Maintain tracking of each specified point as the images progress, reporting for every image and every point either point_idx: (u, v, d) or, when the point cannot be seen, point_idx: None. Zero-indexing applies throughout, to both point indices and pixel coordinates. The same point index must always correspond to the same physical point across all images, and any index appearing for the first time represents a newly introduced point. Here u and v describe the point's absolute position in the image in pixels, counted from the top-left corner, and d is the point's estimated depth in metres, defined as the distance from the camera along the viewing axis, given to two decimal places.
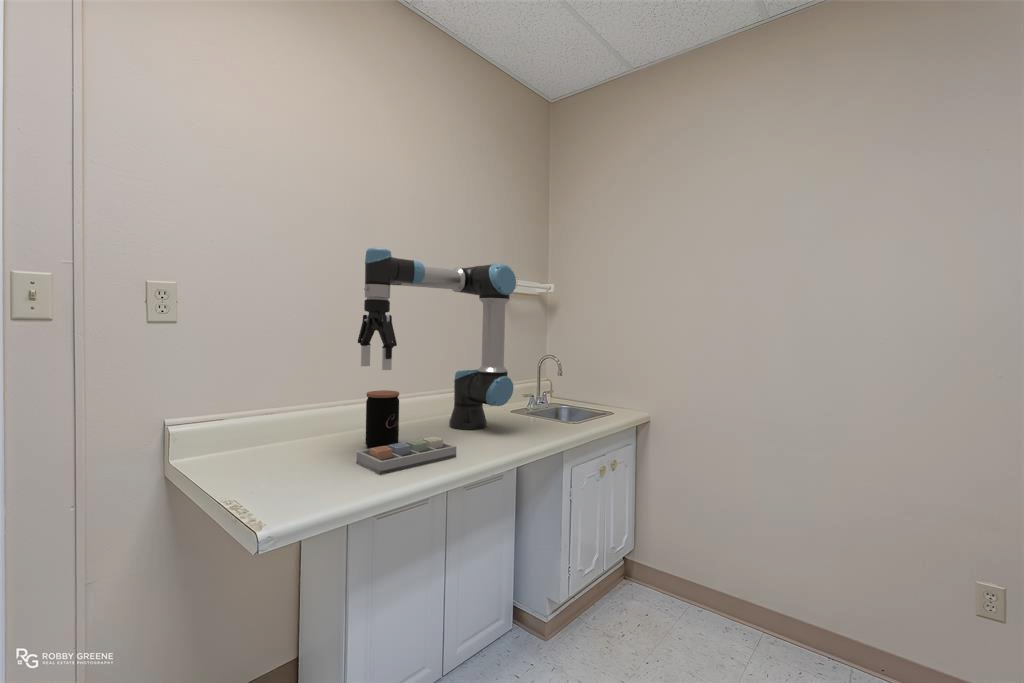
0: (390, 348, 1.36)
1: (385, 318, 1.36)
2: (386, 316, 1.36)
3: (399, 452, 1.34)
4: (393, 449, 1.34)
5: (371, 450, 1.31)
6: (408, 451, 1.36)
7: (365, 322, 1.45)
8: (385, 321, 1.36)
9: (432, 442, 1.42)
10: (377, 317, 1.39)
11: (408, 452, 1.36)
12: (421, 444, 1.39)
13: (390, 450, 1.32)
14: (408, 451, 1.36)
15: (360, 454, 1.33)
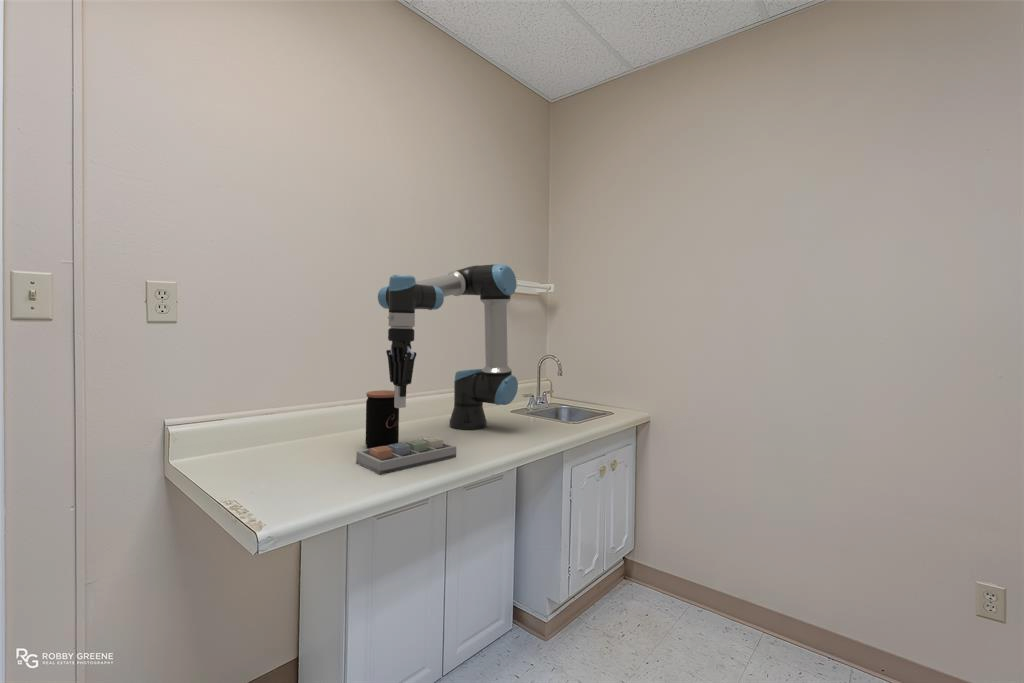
0: (404, 386, 1.34)
1: (409, 357, 1.31)
2: (411, 355, 1.31)
3: (399, 452, 1.34)
4: (393, 449, 1.34)
5: (371, 450, 1.31)
6: (408, 451, 1.36)
7: (391, 356, 1.38)
8: (408, 359, 1.31)
9: (432, 442, 1.42)
10: (402, 346, 1.33)
11: (408, 452, 1.36)
12: (421, 444, 1.39)
13: (390, 450, 1.32)
14: (408, 451, 1.36)
15: (360, 454, 1.33)
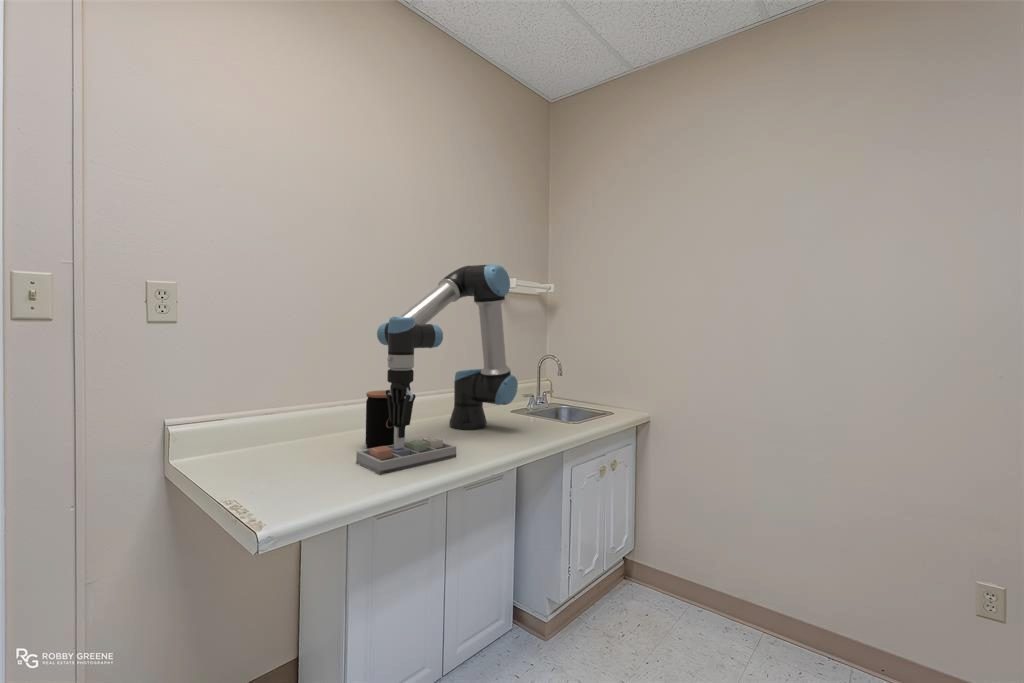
0: (403, 427, 1.35)
1: (408, 399, 1.31)
2: (410, 397, 1.31)
3: None
4: None
5: (371, 450, 1.31)
6: None
7: (390, 396, 1.38)
8: (407, 402, 1.31)
9: (432, 442, 1.42)
10: (401, 388, 1.33)
11: None
12: (421, 444, 1.39)
13: (390, 450, 1.32)
14: (408, 454, 1.36)
15: (360, 454, 1.33)
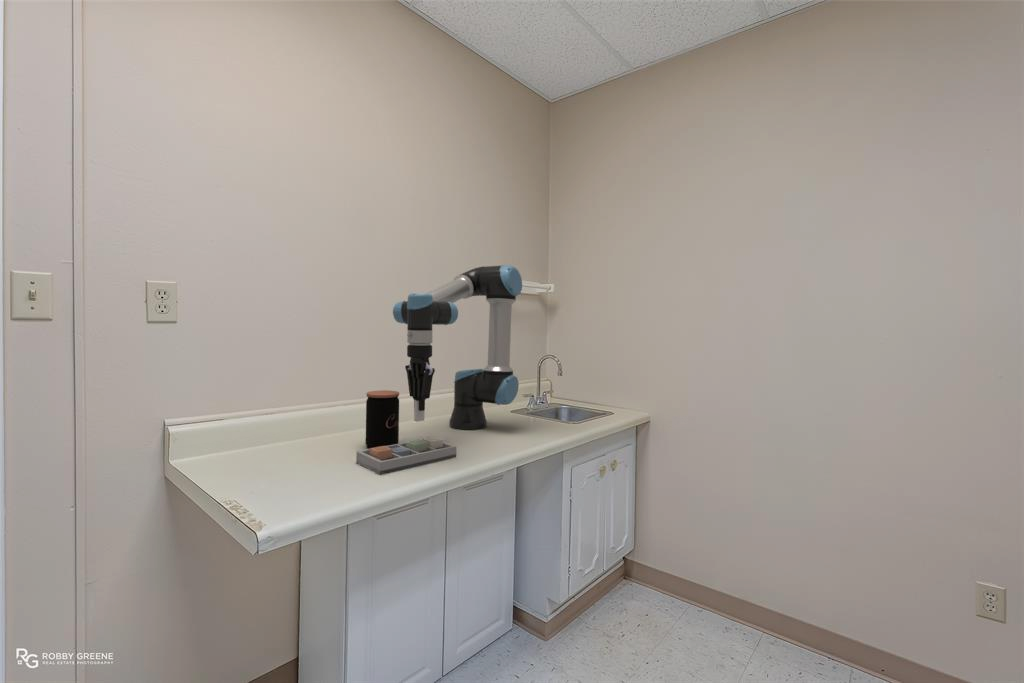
0: (423, 400, 1.40)
1: (428, 373, 1.36)
2: (429, 371, 1.36)
3: None
4: None
5: (371, 450, 1.31)
6: None
7: (409, 371, 1.43)
8: (427, 375, 1.36)
9: (432, 442, 1.42)
10: (421, 362, 1.38)
11: None
12: (421, 444, 1.39)
13: (390, 450, 1.32)
14: None
15: (360, 454, 1.33)
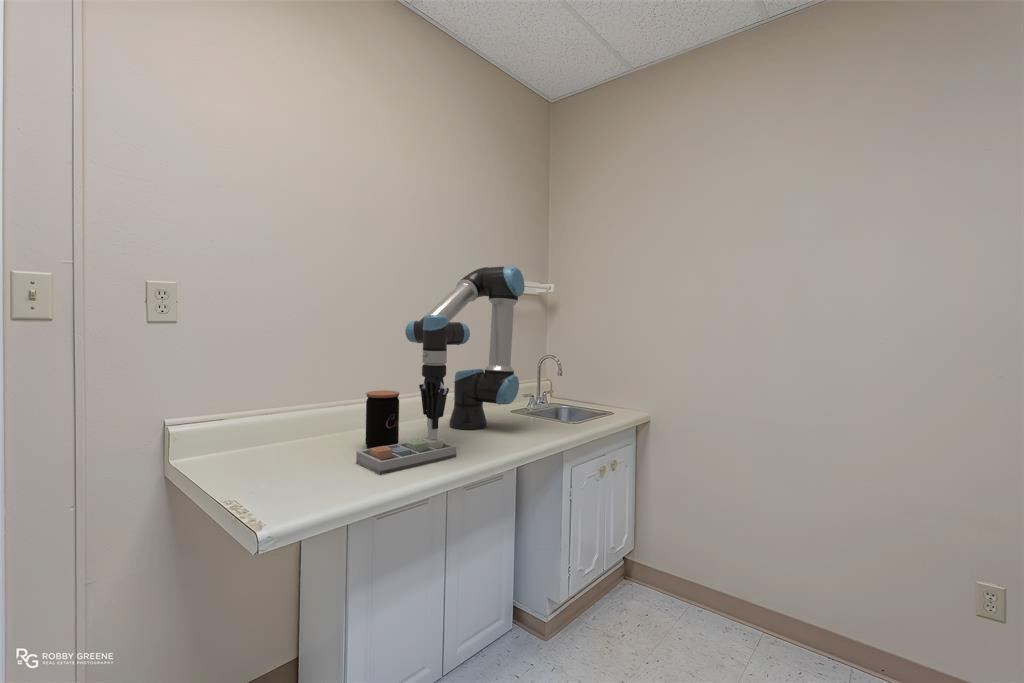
0: (437, 419, 1.43)
1: (442, 393, 1.39)
2: (444, 391, 1.40)
3: None
4: None
5: (371, 450, 1.31)
6: None
7: (423, 390, 1.47)
8: (441, 395, 1.40)
9: (432, 443, 1.42)
10: (436, 382, 1.41)
11: None
12: (421, 444, 1.39)
13: (390, 450, 1.32)
14: None
15: (360, 454, 1.33)
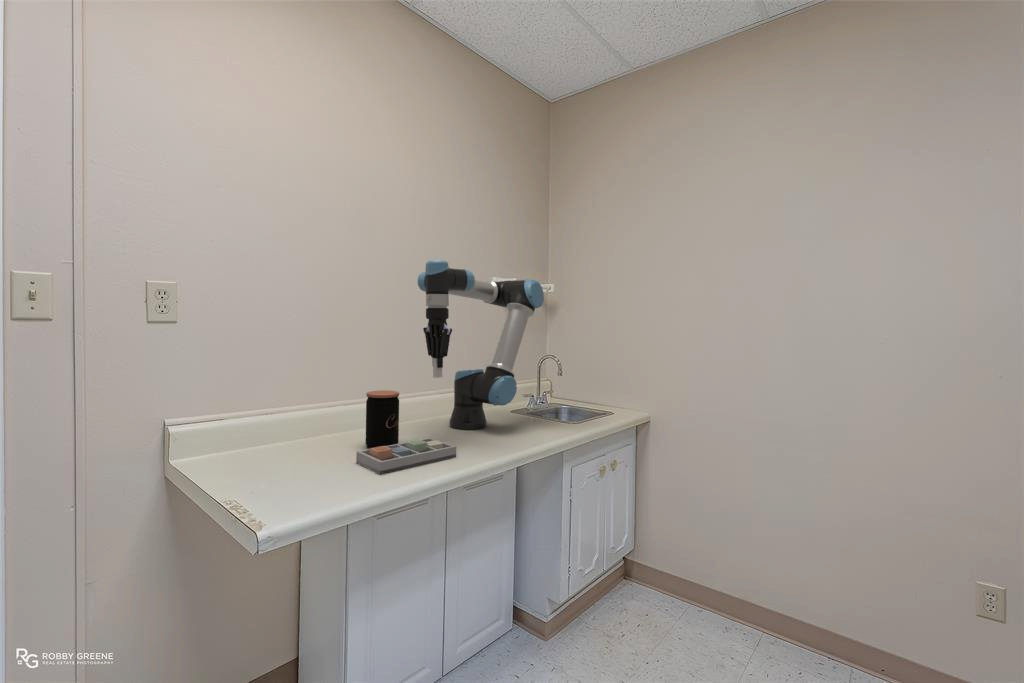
0: (441, 358, 1.53)
1: (446, 332, 1.49)
2: (447, 331, 1.49)
3: None
4: None
5: (371, 450, 1.31)
6: None
7: (427, 332, 1.56)
8: (445, 334, 1.50)
9: (432, 446, 1.42)
10: (439, 323, 1.51)
11: None
12: (421, 444, 1.39)
13: (390, 450, 1.32)
14: None
15: (360, 454, 1.33)
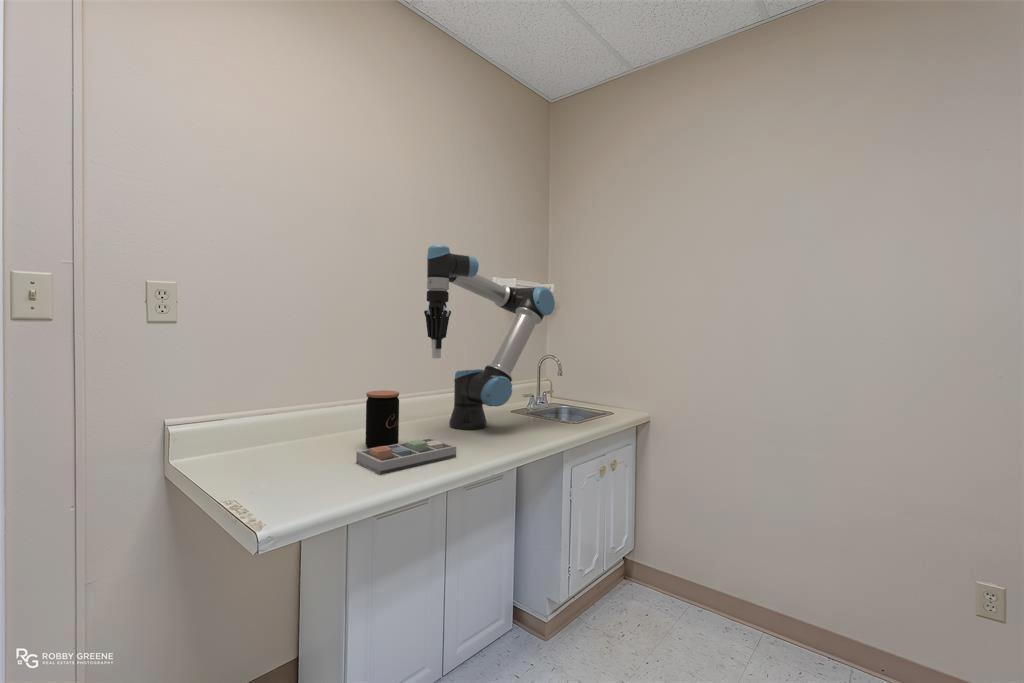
0: (440, 339, 1.59)
1: (445, 314, 1.55)
2: (446, 312, 1.55)
3: None
4: None
5: (371, 450, 1.31)
6: None
7: (428, 315, 1.62)
8: (444, 316, 1.55)
9: (432, 446, 1.42)
10: (439, 305, 1.57)
11: None
12: (421, 444, 1.39)
13: (390, 450, 1.32)
14: None
15: (360, 454, 1.33)
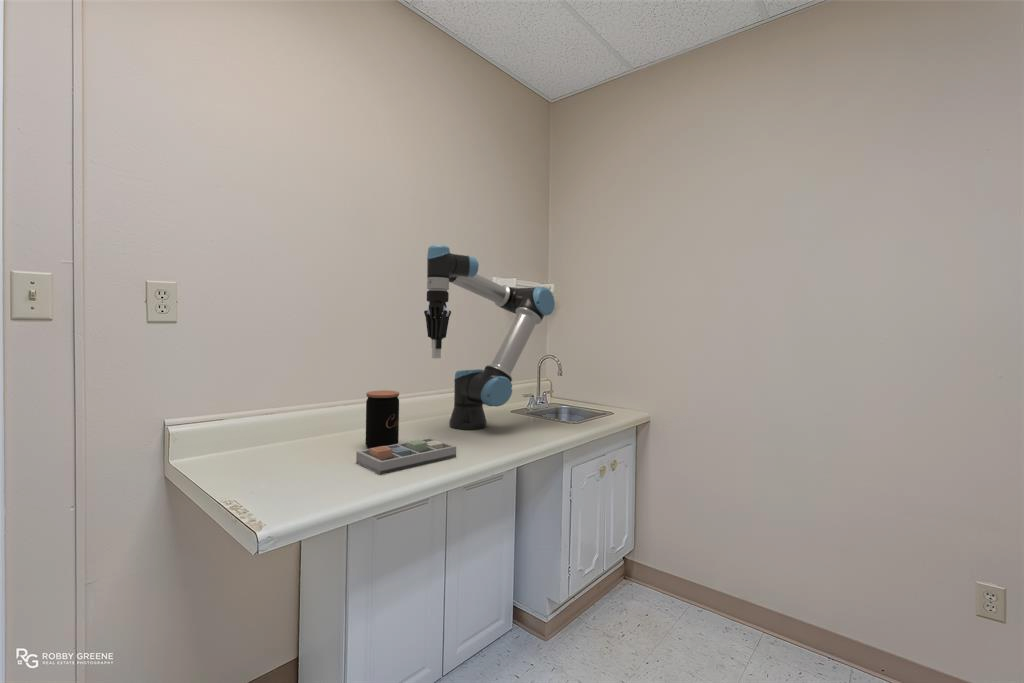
0: (440, 339, 1.59)
1: (445, 314, 1.55)
2: (446, 312, 1.55)
3: None
4: None
5: (371, 450, 1.31)
6: None
7: (428, 315, 1.62)
8: (444, 316, 1.55)
9: (432, 446, 1.42)
10: (439, 305, 1.57)
11: None
12: (421, 444, 1.39)
13: (390, 450, 1.32)
14: None
15: (360, 454, 1.33)
